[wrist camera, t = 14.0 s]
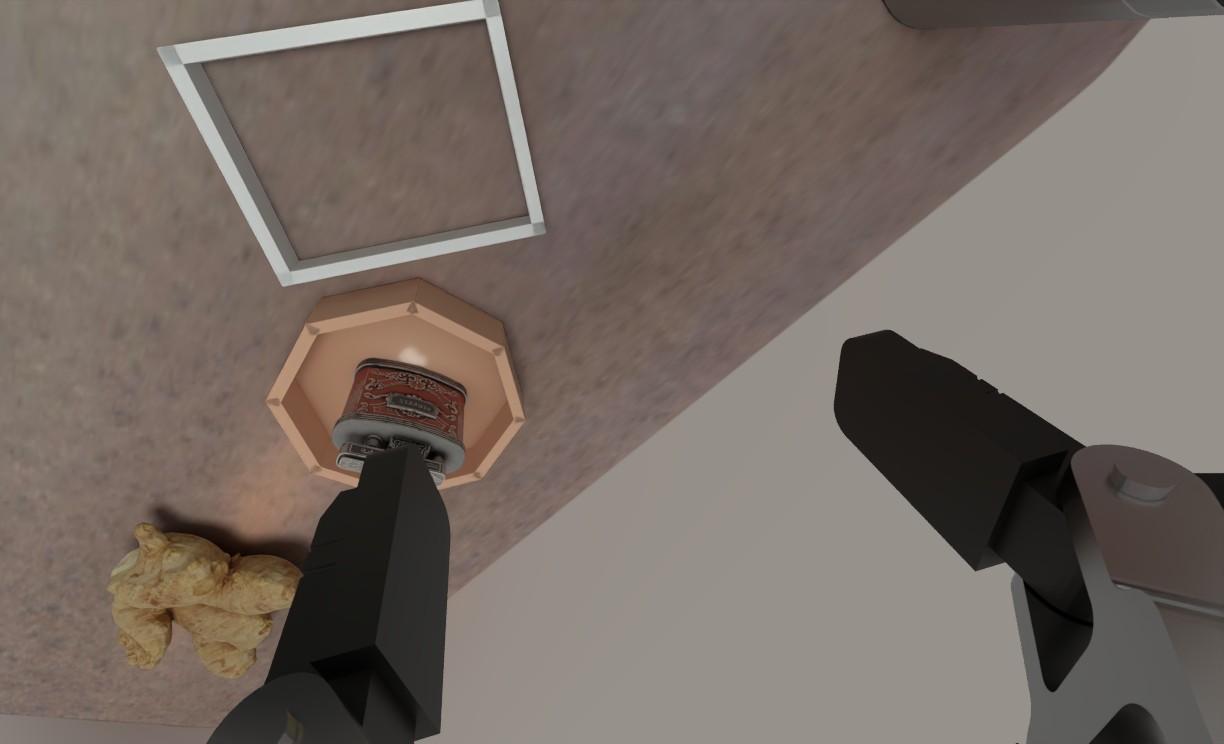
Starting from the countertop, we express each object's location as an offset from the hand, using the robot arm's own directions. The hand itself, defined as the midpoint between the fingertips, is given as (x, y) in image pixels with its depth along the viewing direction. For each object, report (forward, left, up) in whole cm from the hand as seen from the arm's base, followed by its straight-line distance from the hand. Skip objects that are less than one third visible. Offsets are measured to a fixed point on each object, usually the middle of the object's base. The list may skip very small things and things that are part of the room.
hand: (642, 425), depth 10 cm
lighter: (+12, +14, -28) cm, 33 cm away
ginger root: (+33, +28, -28) cm, 52 cm away
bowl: (+12, +14, -28) cm, 34 cm away
